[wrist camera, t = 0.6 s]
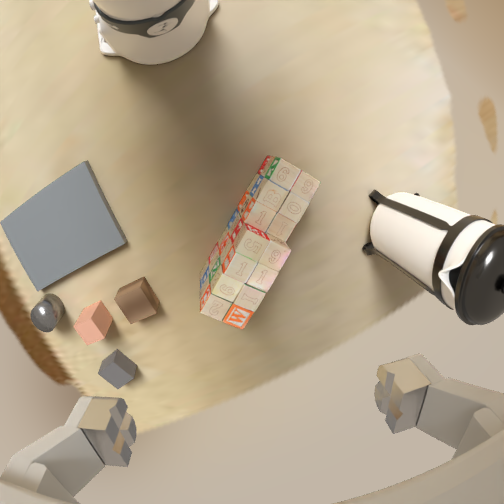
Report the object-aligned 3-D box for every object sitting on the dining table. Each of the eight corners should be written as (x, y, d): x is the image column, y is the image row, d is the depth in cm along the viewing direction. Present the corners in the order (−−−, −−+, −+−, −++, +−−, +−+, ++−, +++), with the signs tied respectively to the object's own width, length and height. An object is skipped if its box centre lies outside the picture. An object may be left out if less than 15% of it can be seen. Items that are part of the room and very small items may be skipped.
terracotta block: (84, 308, 48) (73, 326, 42) (100, 300, 48) (90, 318, 42) (96, 325, 49) (87, 345, 44) (113, 318, 49) (104, 338, 44)
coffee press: (381, 280, 55) (486, 377, 27) (340, 216, 49) (471, 302, 21) (441, 224, 53) (558, 285, 25) (409, 156, 47) (554, 190, 19)
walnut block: (119, 287, 48) (114, 299, 44) (144, 276, 48) (140, 287, 44) (135, 311, 49) (130, 324, 46) (159, 300, 49) (156, 313, 46)
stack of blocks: (266, 153, 44) (288, 157, 33) (301, 174, 46) (332, 186, 35) (199, 274, 49) (199, 314, 38) (233, 289, 51) (242, 331, 39)
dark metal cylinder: (37, 299, 46) (25, 312, 41) (54, 289, 46) (43, 303, 41) (51, 321, 48) (42, 335, 43) (69, 312, 48) (59, 327, 43)
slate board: (4, 220, 40) (0, 222, 38) (87, 160, 40) (84, 161, 38) (41, 287, 45) (37, 291, 44) (127, 240, 45) (125, 243, 44)
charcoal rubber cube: (102, 360, 52) (97, 373, 48) (117, 348, 52) (113, 361, 48) (121, 375, 54) (118, 389, 50) (136, 364, 53) (133, 378, 50)
